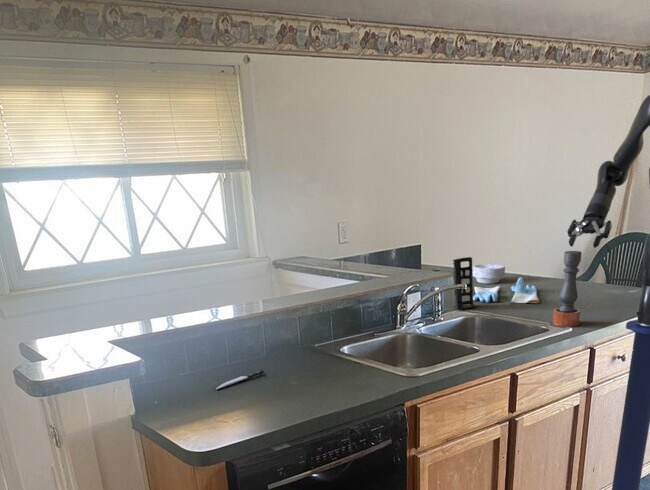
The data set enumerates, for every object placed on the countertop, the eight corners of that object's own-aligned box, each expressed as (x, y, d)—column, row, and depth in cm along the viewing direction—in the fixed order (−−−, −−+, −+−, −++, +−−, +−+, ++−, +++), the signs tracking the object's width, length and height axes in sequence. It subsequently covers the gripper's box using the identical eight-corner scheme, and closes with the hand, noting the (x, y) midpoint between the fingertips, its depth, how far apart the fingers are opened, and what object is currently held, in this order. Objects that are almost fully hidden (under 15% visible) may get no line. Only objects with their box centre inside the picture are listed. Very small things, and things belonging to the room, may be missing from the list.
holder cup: (584, 324, 237) (585, 311, 235) (563, 328, 234) (565, 314, 232) (567, 319, 244) (568, 306, 242) (547, 322, 242) (548, 309, 240)
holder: (466, 310, 264) (464, 260, 258) (449, 310, 269) (446, 260, 262) (478, 305, 272) (476, 256, 266) (461, 305, 277) (459, 257, 270)
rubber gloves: (471, 303, 277) (472, 288, 275) (474, 288, 306) (475, 274, 304) (539, 304, 271) (540, 288, 268) (535, 288, 300) (536, 274, 297)
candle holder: (560, 319, 243) (567, 250, 233) (577, 321, 239) (585, 251, 230) (554, 322, 239) (561, 252, 229) (571, 324, 235) (578, 253, 225)
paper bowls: (508, 280, 321) (509, 264, 318) (498, 286, 309) (499, 269, 306) (478, 278, 329) (479, 262, 325) (467, 284, 317) (468, 267, 314)
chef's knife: (209, 389, 189) (215, 390, 187) (208, 385, 188) (215, 386, 186) (258, 371, 201) (265, 373, 199) (258, 368, 201) (264, 369, 199)
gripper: (576, 202, 239) (560, 238, 236) (616, 202, 231) (600, 239, 227) (580, 215, 245) (565, 251, 242) (619, 216, 236) (604, 253, 233)
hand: (582, 245), depth 235 cm, fingers open, 8 cm apart
